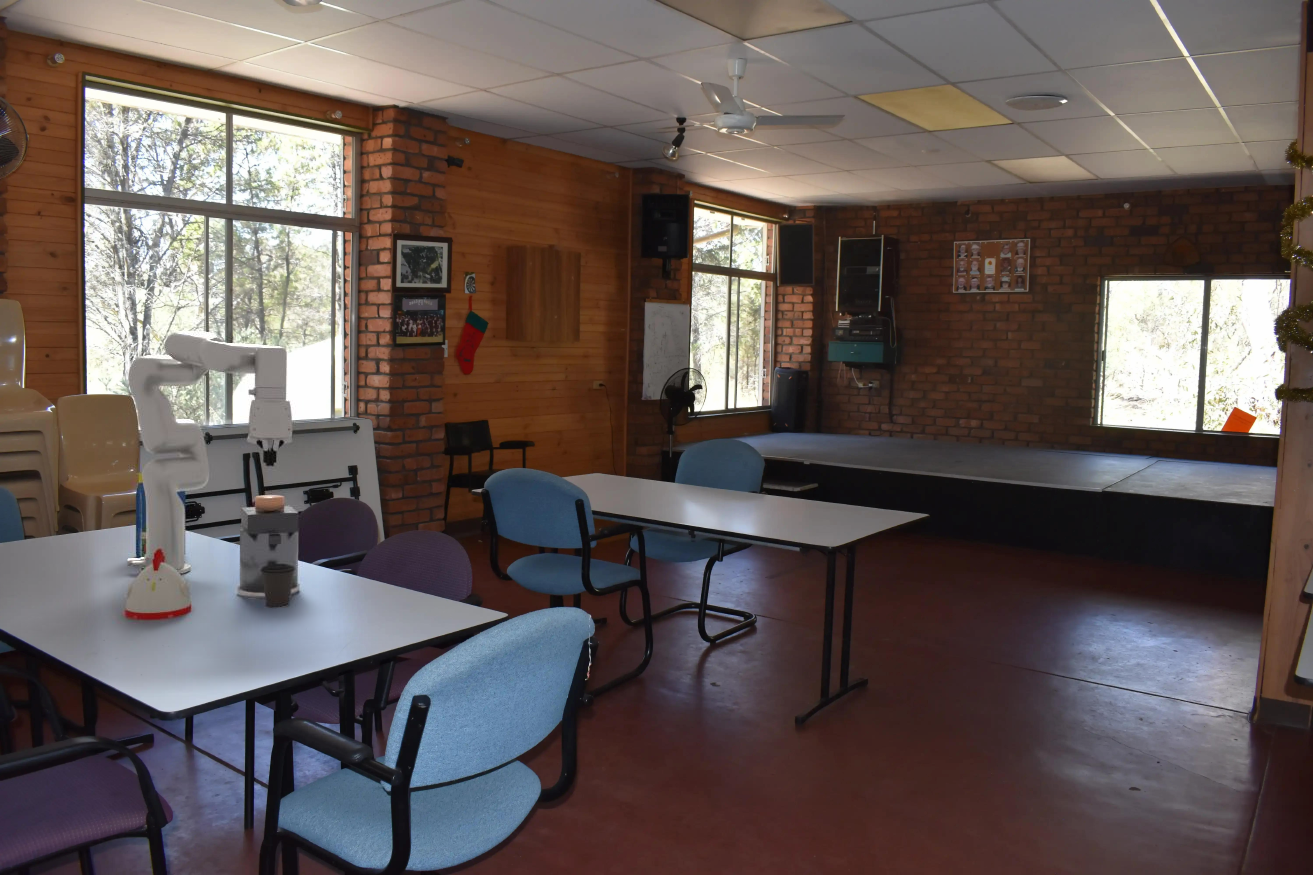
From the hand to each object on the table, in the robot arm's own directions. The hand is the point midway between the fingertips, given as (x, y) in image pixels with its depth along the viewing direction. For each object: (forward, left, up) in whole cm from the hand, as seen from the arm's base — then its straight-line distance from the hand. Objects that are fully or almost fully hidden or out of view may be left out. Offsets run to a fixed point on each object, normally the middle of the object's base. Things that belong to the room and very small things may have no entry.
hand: (269, 465), depth 247 cm
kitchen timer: (-26, -11, -33) cm, 44 cm away
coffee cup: (0, -14, -33) cm, 36 cm away
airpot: (0, -2, -33) cm, 33 cm away
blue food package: (-22, +57, -33) cm, 69 cm away
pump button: (0, 0, -16) cm, 16 cm away
